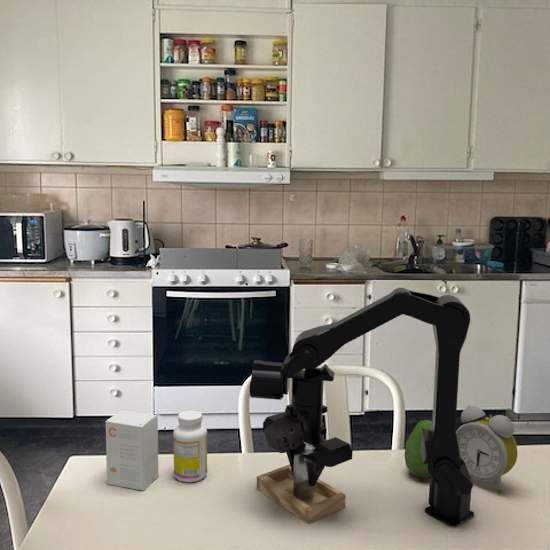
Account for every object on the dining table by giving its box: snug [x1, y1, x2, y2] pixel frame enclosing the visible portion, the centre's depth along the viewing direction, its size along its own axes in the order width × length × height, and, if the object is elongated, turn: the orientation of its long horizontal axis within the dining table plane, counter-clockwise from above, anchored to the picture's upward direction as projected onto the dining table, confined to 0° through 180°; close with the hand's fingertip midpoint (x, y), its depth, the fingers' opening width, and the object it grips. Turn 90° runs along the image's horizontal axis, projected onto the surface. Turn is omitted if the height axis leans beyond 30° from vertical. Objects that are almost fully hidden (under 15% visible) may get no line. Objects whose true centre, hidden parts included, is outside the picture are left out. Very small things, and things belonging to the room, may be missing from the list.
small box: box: [104, 409, 160, 491], centre depth 118 cm, size 8×6×13 cm
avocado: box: [403, 419, 432, 479], centre depth 123 cm, size 8×8×12 cm
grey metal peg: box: [293, 448, 315, 499], centre depth 112 cm, size 4×4×8 cm
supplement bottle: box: [172, 410, 208, 483], centre depth 120 cm, size 7×7×13 cm
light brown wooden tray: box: [256, 463, 347, 525], centre depth 114 cm, size 15×9×2 cm, turn 39°
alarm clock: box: [456, 404, 518, 494], centre depth 121 cm, size 12×7×15 cm, turn 42°
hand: (304, 480), depth 112 cm, fingers closed on grey metal peg, 4 cm apart
